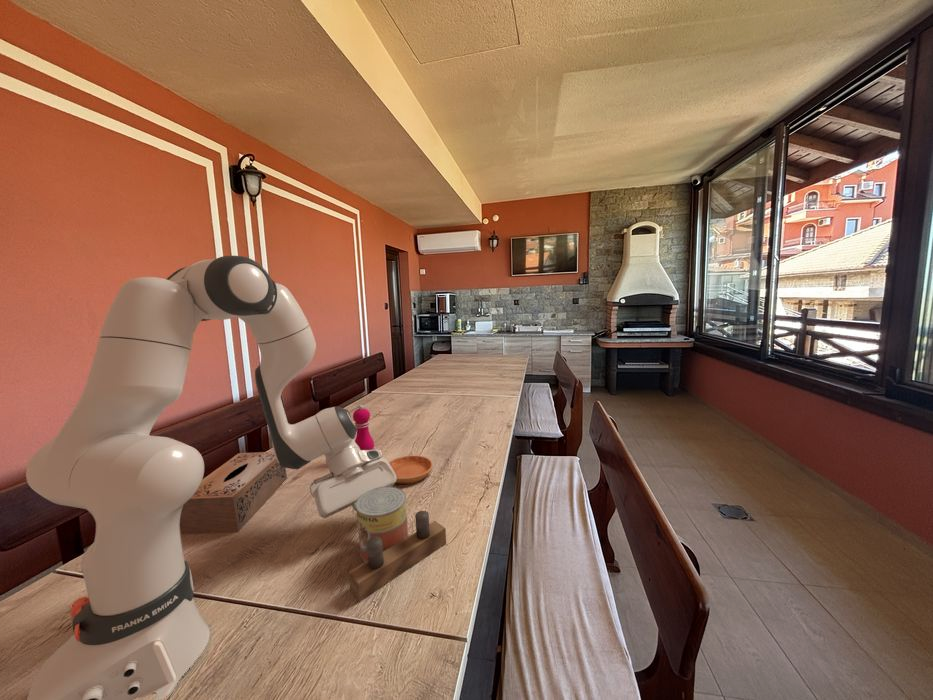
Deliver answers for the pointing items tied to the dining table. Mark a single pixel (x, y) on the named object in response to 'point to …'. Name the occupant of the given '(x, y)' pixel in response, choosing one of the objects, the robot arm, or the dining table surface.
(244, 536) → the dining table surface
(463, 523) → the dining table surface
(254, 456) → the tissue box cover
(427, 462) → the saucer
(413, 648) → the dining table surface
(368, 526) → the canned food
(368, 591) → the bench stop
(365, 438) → the pepper mill
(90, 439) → the robot arm
